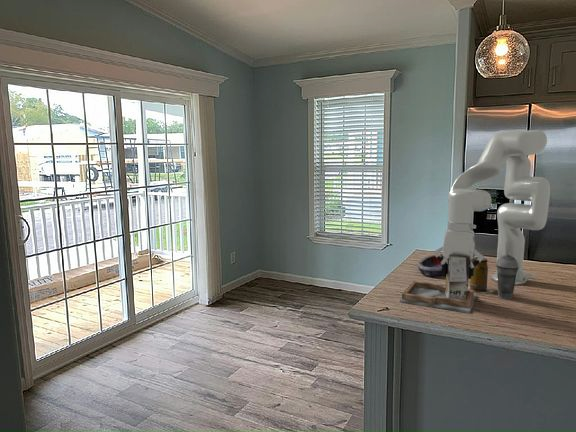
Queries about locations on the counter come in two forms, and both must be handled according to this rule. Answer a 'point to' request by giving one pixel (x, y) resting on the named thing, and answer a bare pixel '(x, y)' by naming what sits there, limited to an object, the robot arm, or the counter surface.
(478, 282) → the condiment
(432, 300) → the wooden tray
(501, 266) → the beverage cup
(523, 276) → the robot arm
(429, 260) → the dish
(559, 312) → the counter surface
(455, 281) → the coffee box
